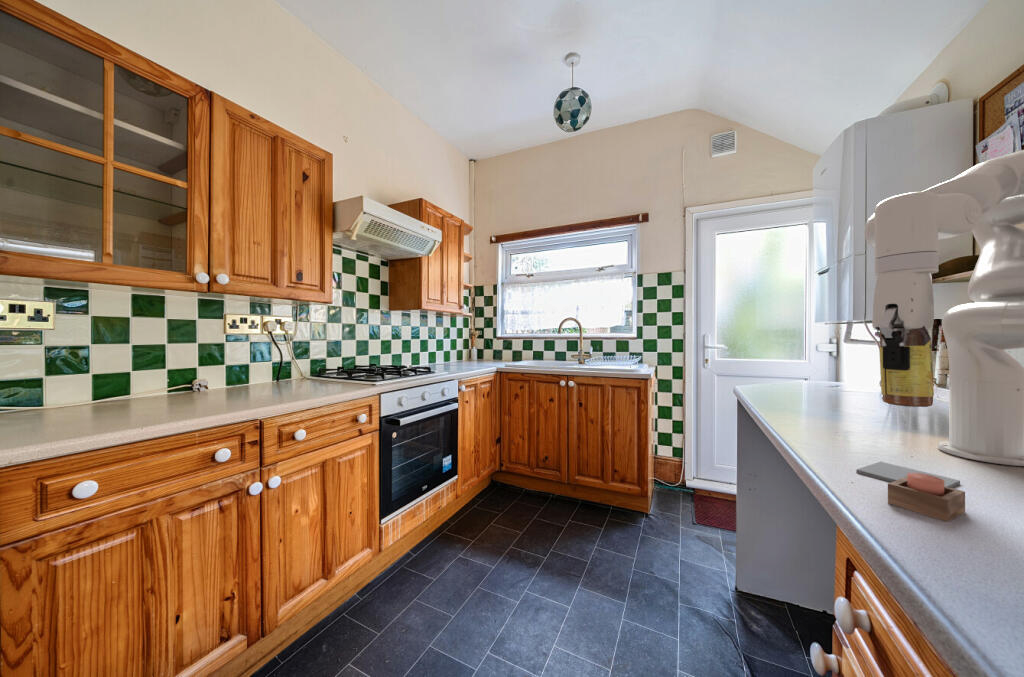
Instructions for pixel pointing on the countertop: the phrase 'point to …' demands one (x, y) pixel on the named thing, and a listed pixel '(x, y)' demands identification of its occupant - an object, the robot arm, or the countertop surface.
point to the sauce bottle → (910, 374)
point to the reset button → (926, 483)
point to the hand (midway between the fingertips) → (905, 367)
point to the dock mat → (898, 473)
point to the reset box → (927, 500)
